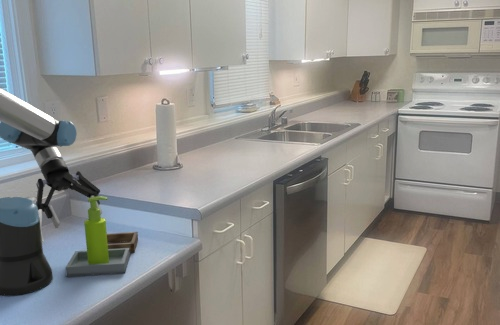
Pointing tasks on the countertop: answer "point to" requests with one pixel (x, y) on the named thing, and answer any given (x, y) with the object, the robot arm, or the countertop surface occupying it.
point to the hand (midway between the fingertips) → (79, 220)
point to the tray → (82, 268)
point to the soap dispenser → (96, 234)
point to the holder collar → (123, 240)
